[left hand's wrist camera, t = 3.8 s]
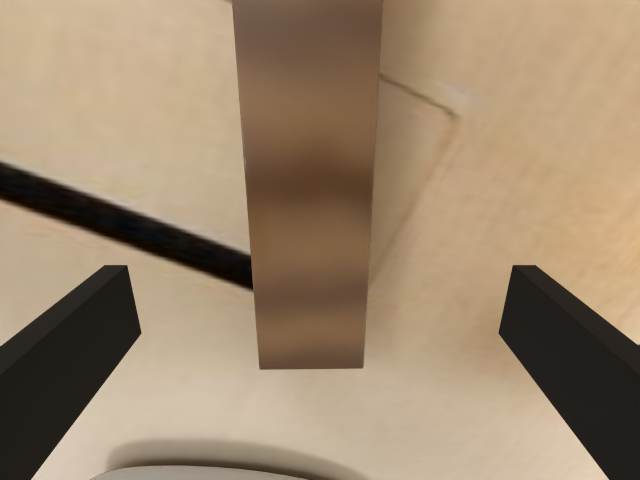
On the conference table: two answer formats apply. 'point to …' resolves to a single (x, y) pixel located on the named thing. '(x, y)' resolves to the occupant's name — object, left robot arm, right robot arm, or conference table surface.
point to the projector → (189, 474)
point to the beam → (309, 173)
